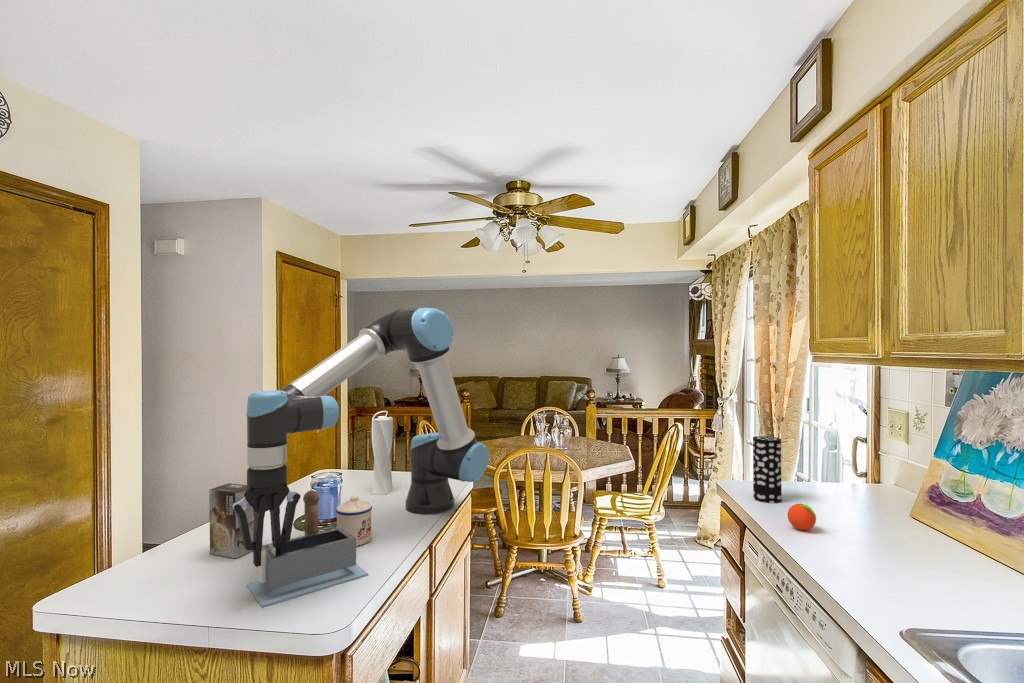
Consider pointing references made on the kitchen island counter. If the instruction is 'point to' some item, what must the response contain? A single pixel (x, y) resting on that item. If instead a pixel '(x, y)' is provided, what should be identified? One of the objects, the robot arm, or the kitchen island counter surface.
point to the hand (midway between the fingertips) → (266, 578)
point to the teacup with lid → (355, 519)
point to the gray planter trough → (310, 557)
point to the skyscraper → (382, 453)
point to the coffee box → (228, 521)
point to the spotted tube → (767, 469)
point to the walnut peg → (311, 512)
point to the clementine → (801, 516)
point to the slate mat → (302, 586)
